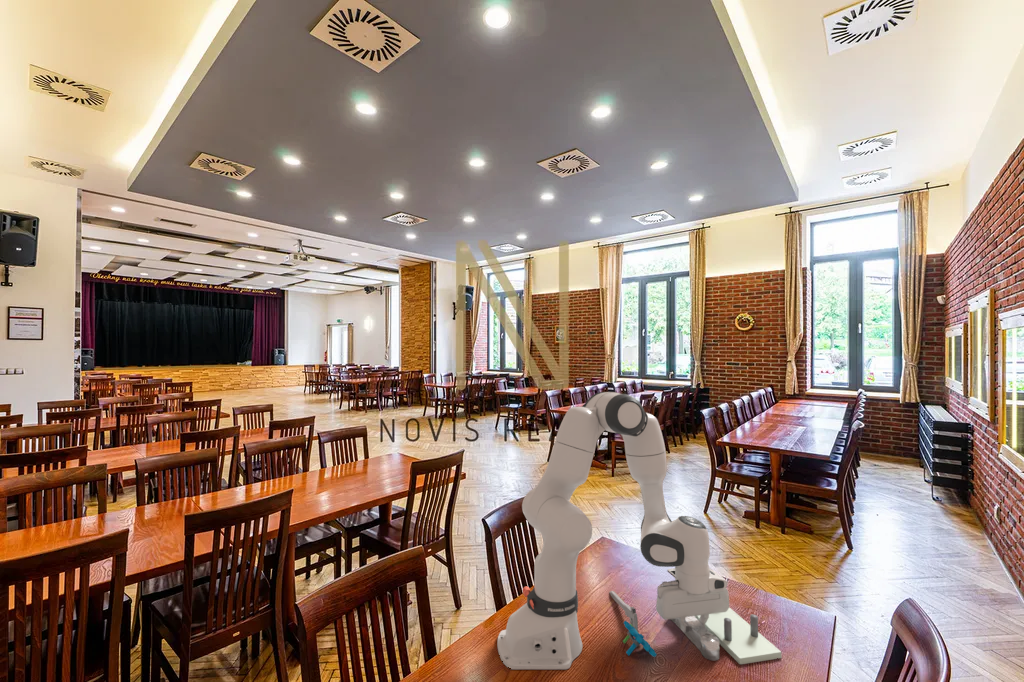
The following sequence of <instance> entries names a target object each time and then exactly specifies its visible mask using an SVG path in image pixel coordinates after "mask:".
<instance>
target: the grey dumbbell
mask: <svg viewBox="0 0 1024 682" xmlns="http://www.w3.org/2000/svg"><path fill="white" fill-rule="evenodd" d="M670 621H672V622H673V623H674V624H675V625H676V626H677V627H678V628H679V629H680V630H681V623H680V622H679V620H678V618H675V619H670ZM683 621H684V622H686V623H687V624H688V625H689V632H683V634H685V636H686V637H687V639H688V640H690V642H692V644H693V645H694V646H695V647H696V648H697V649H698V651H700V652H701V655H702V657H703V658H705V659H707V660H709V661H714V662H715V661H718V660H719V659H720V644H719V639H718V638H717V637H716V636H714V635H712V634H711V633H710V632H709V631H708V630H707V629H706V628H705V627H704V626H703V625H702V624H701V623H700V622H699V620H698V619H697V618H696V617H695V616H691V617H685V620H683Z"/></svg>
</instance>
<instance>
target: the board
mask: <svg viewBox="0 0 1024 682" xmlns="http://www.w3.org/2000/svg"><path fill="white" fill-rule="evenodd" d="M749 615H750V616H749V619H750V621H749V622H750V623H748V621H746V620H745V619H744V618H743V617H742V616H740V615H739V614H738V613H737V612H736V611H734V610H733V609H732V608H731V607H730V606H729V609H728V610H727V612H722V613H714V614H709V618H708V620H707V622H706V624H705V628H706V629H707V630H708V631H709V632H710V633H711V634H712V635H714V636H716V637H717V638H718V639H719V646H721V647H722V649H723V650H725V651H726V652H727V653H728V654H729V655H730V656H731V657H732V658H733V660H735V662H737V663H738V664H739V665H746V664H752V663H759V662H764V661H770V660H777V658H778V659H782V657H783V654H782V651H781V650H780V649H779V648H777V646H775V645H774V644H773V643H772V642H770V641H769V640H768V638H766V637H765V636H763V635H762V634H761V633H760V632H759V617H758V615H756V614H749ZM700 616H701V615H698V616H695V617H696V618H697V619H698V620H699V619H700Z"/></svg>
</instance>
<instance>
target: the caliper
mask: <svg viewBox="0 0 1024 682" xmlns="http://www.w3.org/2000/svg"><path fill="white" fill-rule="evenodd" d="M609 594H610V597H611V598H612V599H613V600H614V601H615V603H616V604H618V606H619V607H621V609H622V610H623V611H624V614H625V616H626V617H628V619H629V624H631V625H632V626H633V627H634V628H635V629H636V631H637V632H638V633H639V626H638V625H639V624H638V623H639V622H638V613H637V610H636V608H635V606H630V605H629V604H628V603H626V602H624V600H623V599H622V598H621V597H620V596H619V595H618V594H617V593H616V591H613V590H610V591H609Z"/></svg>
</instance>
